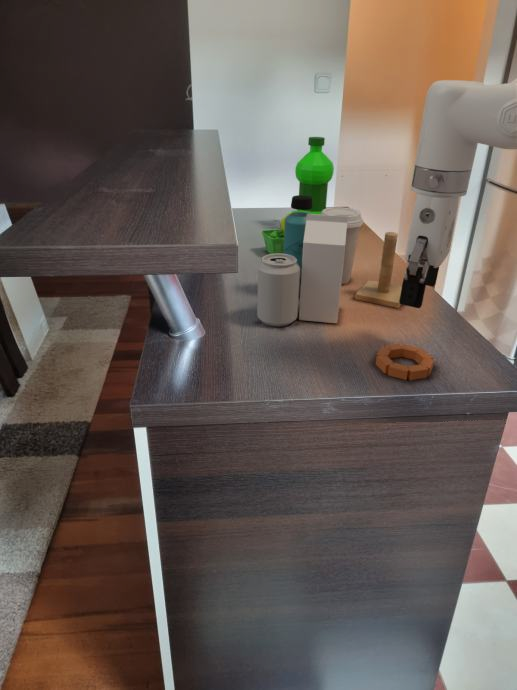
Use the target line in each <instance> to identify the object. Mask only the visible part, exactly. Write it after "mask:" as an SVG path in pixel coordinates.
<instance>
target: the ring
mask: <svg viewBox="0 0 517 690" xmlns="http://www.w3.org/2000/svg"><path fill="white" fill-rule="evenodd" d="M396 358H405V359H409V360H414V361H415V363H417V364H413V365H405V364H400V363H397V362H394V361H393V360H392V359H396ZM434 363H435V359H434V357H433V356H432V355H431V354H430V353H428V352H427V351H426V350H424V349H421V347H417V346H412V345H409V344H405V343H402V344H401V343H395V344H394V343H393V344H387V345H384V346H382V347H380V349H379V350H378V352H377V353H376V357H375V366H376V367H377V368H379V370H380V371H381V372H382V373H383V374H385V375H386V374H387V376H389V377H393V378H397V379H400V380H405V381H407V379H408V380H409V381H414V380H415V381H416V380H422V379H428V378H427V377H430V374H431V373H432V370H433V367H434Z"/></svg>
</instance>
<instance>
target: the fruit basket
mask: <svg viewBox="0 0 517 690" xmlns="http://www.w3.org/2000/svg"><path fill="white" fill-rule="evenodd" d="M294 212H298V211H297V210H292V211H290V212H289V213H287V214H286V215H285V216H283V218H281V221H280V224H279V225H280V228H278V229H276V228H275V229H266V230H262V231H261V235H262V237H263V241H264V245H265V249H266V250H265V251H266V252H268V254H275V253H281V254H282V253H283V252H282V251H283V249H284V230H285V218H286V217H287V216H288V215H289V214H291V213H294Z"/></svg>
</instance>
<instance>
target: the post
mask: <svg viewBox="0 0 517 690" xmlns="http://www.w3.org/2000/svg"><path fill="white" fill-rule="evenodd" d="M398 236H399V234H398V233H397V232H393V231H387V232H385V233H384V240H383V246H382V247H383V248H382V254H381V261H380V262H381V263H380V268H379V276H378V281H376V280H371V279H369V280H367V281H366V283H365V284H364V285H363V286H362V287H361V288H360V289H359V290H358V291H357V292H356V293H355V294H354V300H357V301H362V302H366V303H371V304H375V305H380V306H384V307H385V306H386V307H389V308H395V309H400V307H401V306H402V305H401V304H400V303H399V300H400V295H401V289H402V285H398V284H391V283H392V277H393V269H394V263H395V256H396V250H397V243H398Z"/></svg>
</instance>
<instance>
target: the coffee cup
mask: <svg viewBox="0 0 517 690" xmlns="http://www.w3.org/2000/svg"><path fill="white" fill-rule="evenodd" d="M321 215H335V216H348V221H347V232H346V242H345V252H344V262H343V272H342V282H341V285H345V284H346V285H347V284H348V283H349V282H350V280H351V276H352V272H353V266H354V262H355V261H354V260H355V256H356V251H357V246H358V241H359V235H360V230H361V227H362V226H363V225H364V219H363V217H362V215H361V212H360V211H359V210H358V209H354V208H351V207H350V208H349V207H341V206H337V207H326V209H324V210H323V211H322V213H321Z"/></svg>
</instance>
